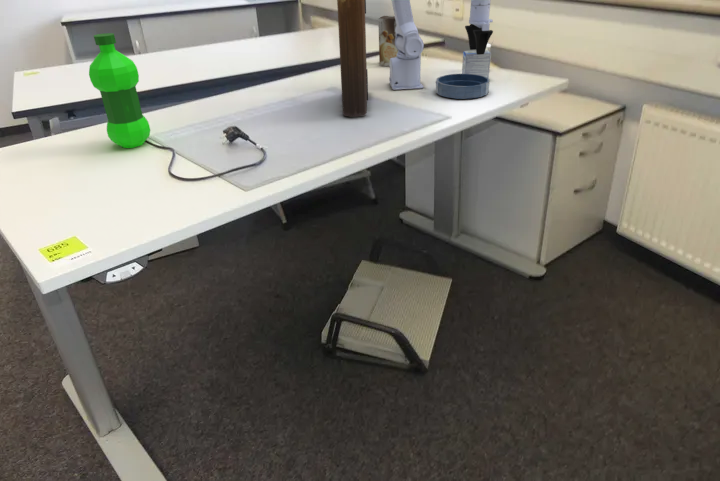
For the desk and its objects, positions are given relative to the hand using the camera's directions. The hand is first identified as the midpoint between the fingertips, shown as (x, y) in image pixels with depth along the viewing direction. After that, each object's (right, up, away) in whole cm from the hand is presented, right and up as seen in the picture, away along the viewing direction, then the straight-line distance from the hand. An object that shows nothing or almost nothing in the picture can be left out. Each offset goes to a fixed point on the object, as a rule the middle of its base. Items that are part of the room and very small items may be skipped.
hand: (476, 51), depth 167 cm
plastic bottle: (-91, -36, -37) cm, 105 cm away
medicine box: (0, -8, +4) cm, 9 cm away
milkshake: (+5, -2, +14) cm, 15 cm away
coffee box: (-24, +5, +27) cm, 37 cm away
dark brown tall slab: (-37, -21, -15) cm, 46 cm away
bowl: (-6, -15, -8) cm, 18 cm away
